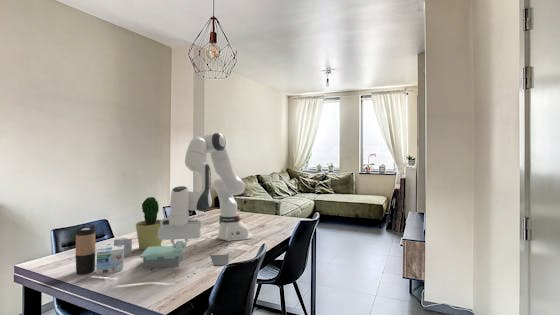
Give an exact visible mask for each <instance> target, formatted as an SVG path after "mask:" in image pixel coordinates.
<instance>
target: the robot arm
mask: <svg viewBox="0 0 560 315" xmlns="http://www.w3.org/2000/svg"><path fill="white" fill-rule="evenodd" d="M188 144H189V145H188V146H187V149H186V153H185V158H184V164H185V167H186V168H187V169H188V170H190V171H191V172H192V173H195V174H198V175H199V176H201V191H189V189H188V187H187V186H184V185H182V186H176V187H173V188H172V189H171V194H170V201H169V202H170V204H169V205H170V214H169V215H170V216H167V217H164V218H162V219H160V220H161V221H160V225H161V226H160V227H159V229H158V239H159V240H162V241H163V240H166V241H167V240H170V243H171V245H172V246H173V248H176V242H175V240H184V242H183V244H182V246H183V247H182V248H184V249H185V248H187V243H188V242H189V239H194V240H195V239H200V237H201V235H202V232H201V231H202V230H201V228H202V221H201V220H200V219H197V218H196V219H190V212H189V211H199V212H204V213H205V212H207V211H208V210H210V209H211V208H212V205H213V200H212V199H213V197H212V174H211V167H210V165H209V164H208V163H207V154H210V159H211V162H212V165H213V168H214V171H215V173H216V174H217V175H218V176H219V177H216V179H215V180H214V182H213V189H214V191H216V194H217V196H218V200H219V201H218V202H219V218H218V223H219V227H218V233H217V238H218V239H220V240H222V241H223V240H224V241H227V242H230V241H241V240H250V239H252V237H253V234H252V233H251V232H250V231H249V228H248V227H249V226H248V225H247V224H245V223H244V222H243V221H241V220H242V217H241V216H240V215H239V214H238V202H237V201H236V200H235V197H234V196H239V195H242V194H243V193H244V191H245V189H246V185H245V182H244V181H243V179H241V178H240V177H239V176H238V174H237V172H236V171H235V169H234V167H233V164H232V161H231V158H230V155H229V151H228V150H227V147H226V144H227V140H226V137H225V135H223V134H222V133H218V132H215V133H206V134H203V135H199V136H196V137H193V138H192V139H191V140H190V142H189V143H188Z"/></svg>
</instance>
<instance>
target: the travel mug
mask: <svg viewBox="0 0 560 315" xmlns="http://www.w3.org/2000/svg"><path fill="white" fill-rule="evenodd" d="M95 268H96V227H95V226H90V227H87V226H80V227H78V228H76V229H75V271H76V272H75V273H76V275H78V276H80V275H81V276H83V275H88V274H92V273H94V272H95Z"/></svg>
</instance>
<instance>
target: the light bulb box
mask: <svg viewBox="0 0 560 315" xmlns="http://www.w3.org/2000/svg"><path fill="white" fill-rule="evenodd" d="M124 263H125V257H124V245H121V246H114V245H112V246H103V247H98V249H97V251H96V263H95V268H96V271H95V272H96V273H95V275H99V274H105V273H106V274H107V273H114V272H122V271H124V270H123V269H124V266H125V264H124Z"/></svg>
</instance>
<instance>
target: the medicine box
mask: <svg viewBox="0 0 560 315" xmlns="http://www.w3.org/2000/svg"><path fill="white" fill-rule="evenodd" d="M121 245H124V258H128V257H130V256H131V255H132V254H133V253H132V251H133V247H132V246H133V244H132V238H125V237H119V238H116V239H114V240H113V246H121Z"/></svg>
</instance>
